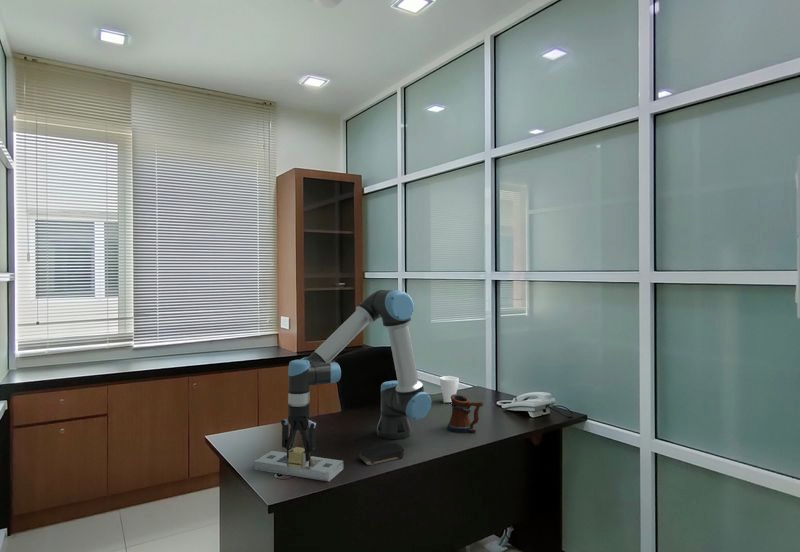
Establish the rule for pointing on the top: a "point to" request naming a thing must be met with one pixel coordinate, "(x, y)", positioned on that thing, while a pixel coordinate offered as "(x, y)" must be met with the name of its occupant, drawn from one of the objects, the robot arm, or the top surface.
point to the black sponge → (381, 454)
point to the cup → (448, 387)
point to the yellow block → (296, 456)
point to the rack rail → (299, 466)
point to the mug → (462, 414)
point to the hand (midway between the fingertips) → (298, 468)
